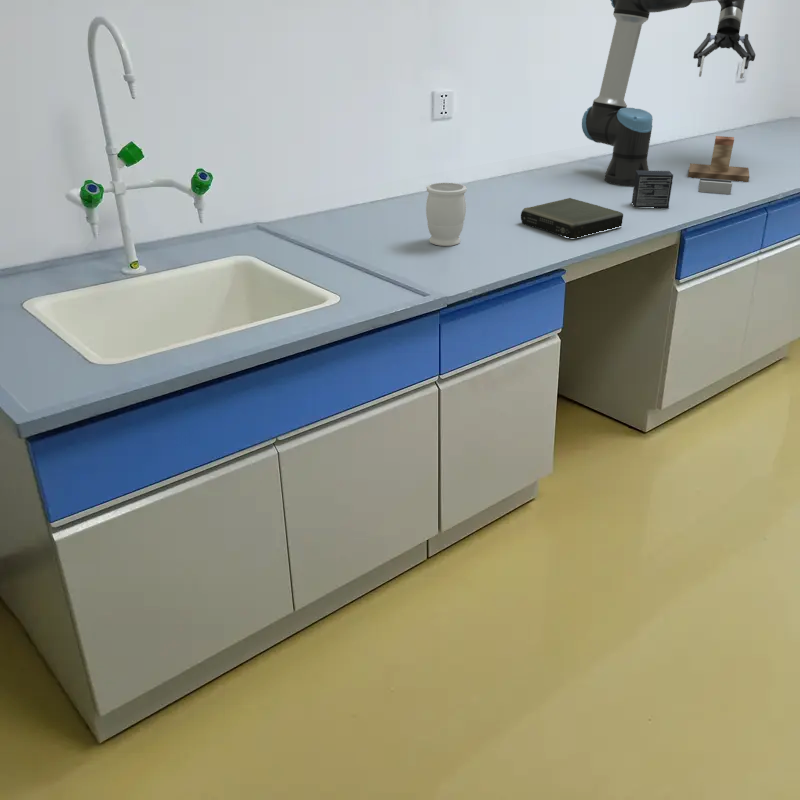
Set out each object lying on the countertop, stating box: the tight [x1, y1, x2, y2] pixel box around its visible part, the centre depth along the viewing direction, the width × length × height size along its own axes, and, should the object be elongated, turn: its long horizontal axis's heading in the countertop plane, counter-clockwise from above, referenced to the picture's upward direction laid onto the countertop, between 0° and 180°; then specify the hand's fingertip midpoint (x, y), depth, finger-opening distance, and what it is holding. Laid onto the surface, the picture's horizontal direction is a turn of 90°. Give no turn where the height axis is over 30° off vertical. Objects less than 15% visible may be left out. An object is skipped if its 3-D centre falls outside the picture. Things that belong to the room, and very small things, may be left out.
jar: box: [425, 182, 468, 247], centre depth 217 cm, size 11×10×15 cm
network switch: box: [520, 197, 624, 238], centre depth 234 cm, size 23×24×5 cm
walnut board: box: [687, 163, 750, 183], centre depth 289 cm, size 20×14×2 cm
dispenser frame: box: [698, 178, 733, 195], centre depth 271 cm, size 10×9×4 cm
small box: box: [631, 170, 674, 209], centre depth 251 cm, size 11×6×10 cm, turn 84°
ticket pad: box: [710, 135, 735, 172], centre depth 286 cm, size 6×5×11 cm
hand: (720, 75), depth 281 cm, fingers open, 13 cm apart
